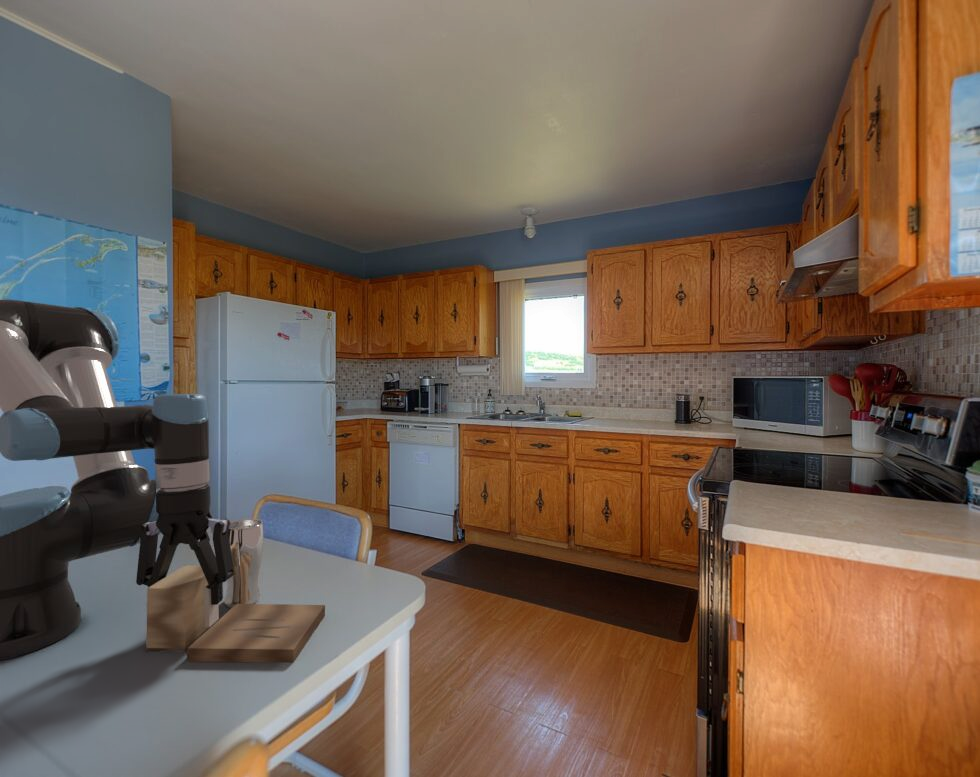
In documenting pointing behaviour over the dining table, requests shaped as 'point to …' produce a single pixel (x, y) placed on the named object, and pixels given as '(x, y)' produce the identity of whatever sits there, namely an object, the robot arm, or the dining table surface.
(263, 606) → the board
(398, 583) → the dining table surface
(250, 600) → the beer glass
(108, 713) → the dining table surface
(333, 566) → the dining table surface
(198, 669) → the dining table surface
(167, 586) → the block
